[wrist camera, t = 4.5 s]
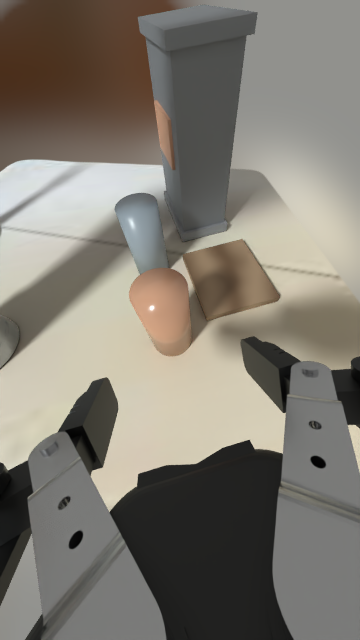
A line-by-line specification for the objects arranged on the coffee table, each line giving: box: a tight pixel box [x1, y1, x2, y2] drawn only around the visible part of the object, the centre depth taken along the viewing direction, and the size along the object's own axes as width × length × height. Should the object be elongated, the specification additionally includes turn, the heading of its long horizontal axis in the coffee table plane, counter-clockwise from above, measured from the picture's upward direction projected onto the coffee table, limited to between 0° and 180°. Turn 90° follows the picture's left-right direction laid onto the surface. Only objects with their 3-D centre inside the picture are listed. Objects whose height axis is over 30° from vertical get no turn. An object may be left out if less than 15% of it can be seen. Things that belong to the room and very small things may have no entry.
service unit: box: [138, 5, 257, 242], centre depth 28 cm, size 8×14×20 cm, turn 15°
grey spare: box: [115, 193, 169, 275], centre depth 27 cm, size 5×5×10 cm
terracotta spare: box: [129, 268, 192, 356], centre depth 21 cm, size 5×5×10 cm
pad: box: [183, 239, 280, 321], centre depth 28 cm, size 10×12×1 cm
